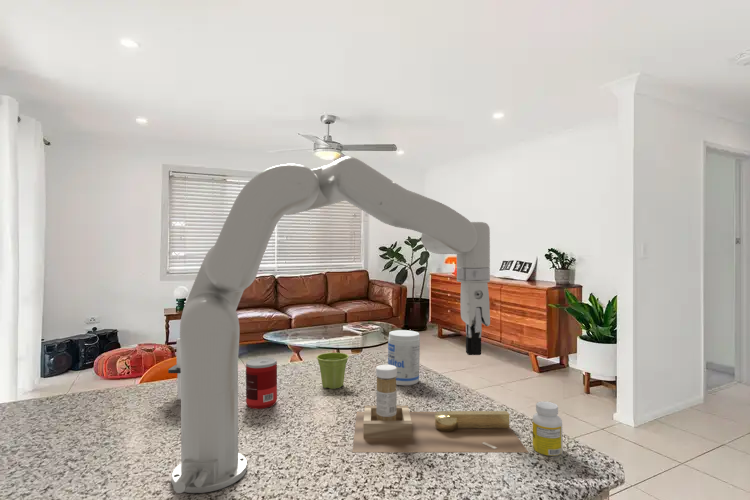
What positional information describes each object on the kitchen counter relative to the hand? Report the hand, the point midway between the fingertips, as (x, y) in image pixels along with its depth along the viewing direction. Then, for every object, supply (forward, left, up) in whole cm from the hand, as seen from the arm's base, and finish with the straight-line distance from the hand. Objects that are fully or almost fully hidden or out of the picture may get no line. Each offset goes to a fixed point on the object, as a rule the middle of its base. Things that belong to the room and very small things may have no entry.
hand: (473, 354), depth 98 cm
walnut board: (-7, +10, -16) cm, 20 cm away
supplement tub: (+29, +14, -16) cm, 36 cm away
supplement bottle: (-16, -11, -16) cm, 25 cm away
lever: (-6, +2, -14) cm, 16 cm away
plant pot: (+25, +35, -16) cm, 46 cm away
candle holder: (+18, +72, -16) cm, 76 cm away
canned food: (+11, +52, -16) cm, 56 cm away
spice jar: (-6, +20, -15) cm, 26 cm away
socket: (-6, +20, -15) cm, 26 cm away
